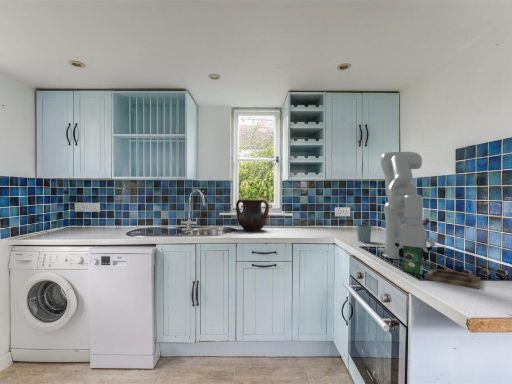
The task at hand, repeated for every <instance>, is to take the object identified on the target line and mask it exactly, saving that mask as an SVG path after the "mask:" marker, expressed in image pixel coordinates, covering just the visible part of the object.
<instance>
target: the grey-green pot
mask: <svg viewBox="0 0 512 384" xmlns="http://www.w3.org/2000/svg"><path fill="white" fill-rule="evenodd" d="M356 232H357V242H358V241H361V242H370V243H371V238H372V237H371V235H372V225H368V224H357V225H356ZM361 242H360V243H361Z"/></svg>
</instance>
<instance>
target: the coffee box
mask: <svg viewBox="0 0 512 384" xmlns="http://www.w3.org/2000/svg"><path fill="white" fill-rule="evenodd" d="M423 261H424V250H423V249H422V248H418V247H409V246H403V259H402V272H405V273H410V274H413V275H414V274H415V275H419V276H421V275H422V274H423V264H424V262H423Z"/></svg>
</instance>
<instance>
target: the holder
mask: <svg viewBox="0 0 512 384" xmlns="http://www.w3.org/2000/svg"><path fill="white" fill-rule="evenodd" d="M424 279H425V280H427V279H428V281H432V280H433V282H438V283H444V284H449V285H455V286H461V287H466V288H471V289H476V290H479V289H480V284H481V277H479V276H474V275H473V274H472V273H466V272H459V271H454V270H447V269H441V268H435V269H430V270H429V271H428V272H426V274H425V275H424Z"/></svg>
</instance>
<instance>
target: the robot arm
mask: <svg viewBox="0 0 512 384" xmlns="http://www.w3.org/2000/svg"><path fill="white" fill-rule="evenodd" d="M422 165H423V159H422V156H421V155H420V153H418V152H415V151H390V152H389V151H388V152H385V153H383V154H382V155H381V157H380V166H381V170H382V173H383V175H384V181H385V182H384V183H385V195H386V198H387V202H385V204H384V205H383V211H384V212H383V213H384V218H385V220H384V221H385V238H384V241H385V247H378V248H377V251H378V252H382V253H381V255H382V257H385V258H387V259H392V260H395V259H396V260H403V246H409V247H418V248H422V249H423V261H424V262H427V260H429V252H430V251H431V250H432V249H434V247H435V246H436V242H435V241H432V240H431V239H429V238H427V233H426V226H424V225H423V221H424V220H423V219H424V215H423V213H424V212H423V211H424V207H423V206H424V200H423V199H424V198H423V196H422V195H420V194H418V189H417V186H416V185H415V184H414V183H413V182H411V181H412V180H413V178H414V176H413V173H412V170H419V169H421V168H422ZM427 243H428V244H430V246H429V247H428V246H427Z"/></svg>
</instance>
